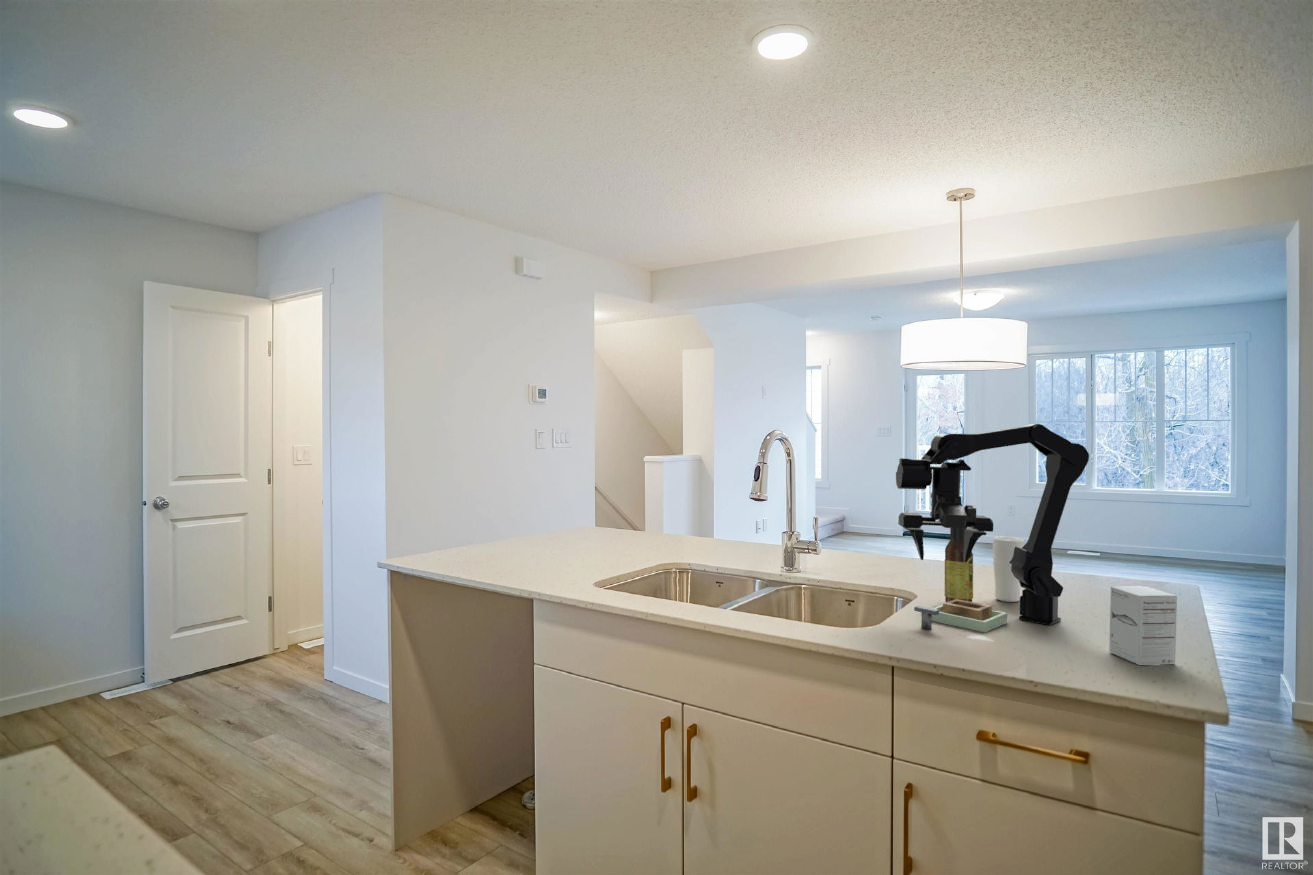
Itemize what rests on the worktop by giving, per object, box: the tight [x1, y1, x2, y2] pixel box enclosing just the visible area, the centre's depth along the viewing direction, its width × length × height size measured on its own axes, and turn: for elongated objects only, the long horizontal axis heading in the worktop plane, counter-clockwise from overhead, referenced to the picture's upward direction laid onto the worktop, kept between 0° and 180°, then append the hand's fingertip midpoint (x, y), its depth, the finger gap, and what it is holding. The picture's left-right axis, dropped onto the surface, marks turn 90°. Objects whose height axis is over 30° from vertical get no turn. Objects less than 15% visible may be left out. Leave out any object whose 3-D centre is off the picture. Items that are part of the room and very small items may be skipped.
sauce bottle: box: [944, 527, 974, 603], centre depth 165 cm, size 7×6×20 cm
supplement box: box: [1108, 585, 1178, 666], centre depth 127 cm, size 7×7×13 cm
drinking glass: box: [992, 536, 1025, 603], centre depth 170 cm, size 7×7×15 cm
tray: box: [932, 604, 1008, 633], centre depth 151 cm, size 12×11×2 cm
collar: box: [942, 599, 993, 621], centre depth 151 cm, size 8×6×3 cm
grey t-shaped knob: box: [913, 605, 939, 631], centre depth 145 cm, size 5×2×4 cm, turn 41°
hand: (943, 560), depth 154 cm, fingers open, 9 cm apart
